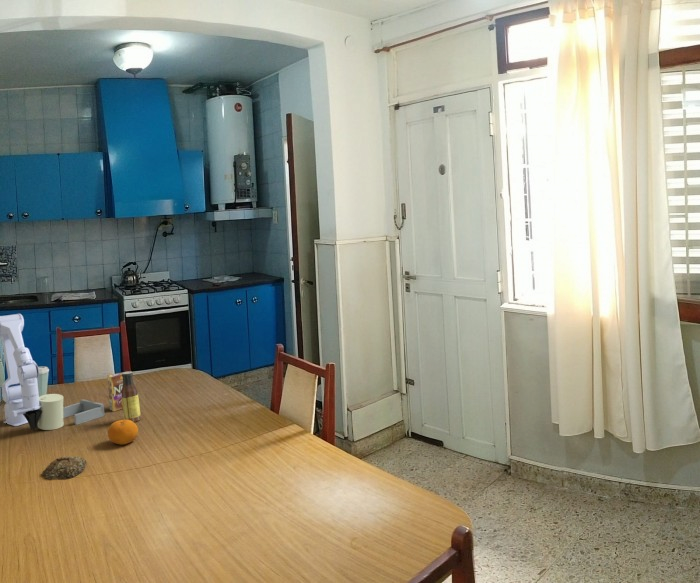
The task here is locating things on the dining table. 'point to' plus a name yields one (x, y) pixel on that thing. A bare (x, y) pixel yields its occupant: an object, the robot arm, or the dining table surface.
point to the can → (51, 412)
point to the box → (84, 411)
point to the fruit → (122, 431)
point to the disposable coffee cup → (42, 380)
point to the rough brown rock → (64, 468)
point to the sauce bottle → (130, 398)
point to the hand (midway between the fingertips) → (33, 429)
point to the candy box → (115, 391)
